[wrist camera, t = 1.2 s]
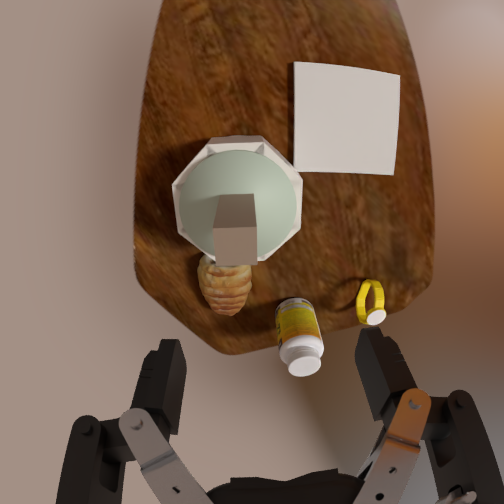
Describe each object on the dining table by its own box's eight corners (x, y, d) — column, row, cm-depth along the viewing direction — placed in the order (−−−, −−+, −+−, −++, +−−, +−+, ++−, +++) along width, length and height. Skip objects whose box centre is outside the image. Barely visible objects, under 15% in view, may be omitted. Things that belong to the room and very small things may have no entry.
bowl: (180, 138, 29) (167, 147, 24) (293, 134, 29) (303, 142, 25) (190, 238, 35) (182, 263, 30) (291, 235, 35) (298, 259, 31)
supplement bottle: (269, 301, 40) (276, 359, 31) (309, 291, 40) (324, 346, 31) (279, 328, 43) (286, 384, 34) (315, 319, 42) (330, 373, 33)
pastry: (251, 307, 41) (251, 326, 38) (203, 306, 41) (199, 325, 38) (251, 248, 36) (252, 265, 33) (196, 248, 36) (192, 265, 33)
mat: (293, 62, 25) (294, 61, 25) (397, 75, 25) (399, 75, 25) (293, 170, 31) (294, 171, 31) (391, 173, 31) (393, 175, 31)
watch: (364, 304, 42) (376, 333, 37) (348, 303, 41) (358, 334, 37) (379, 273, 38) (394, 302, 33) (361, 271, 38) (376, 301, 33)
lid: (175, 153, 25) (149, 177, 18) (296, 148, 25) (317, 170, 18) (187, 257, 30) (173, 307, 23) (293, 254, 30) (306, 303, 23)
